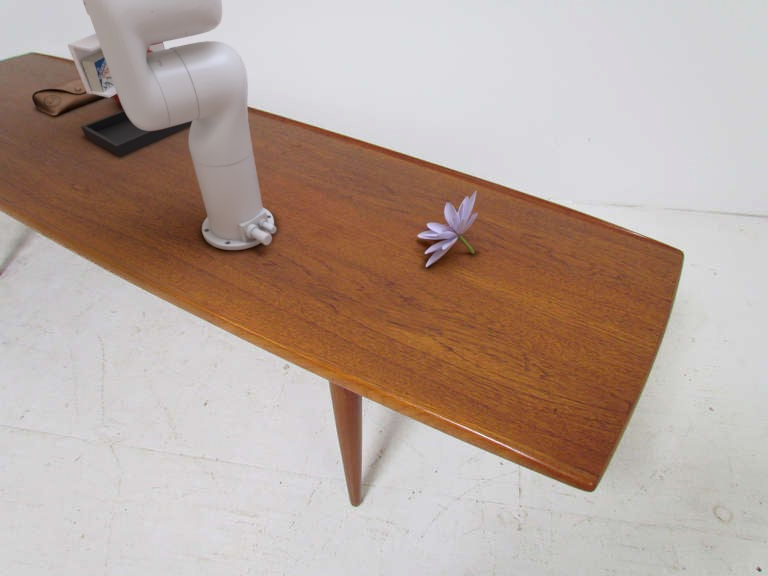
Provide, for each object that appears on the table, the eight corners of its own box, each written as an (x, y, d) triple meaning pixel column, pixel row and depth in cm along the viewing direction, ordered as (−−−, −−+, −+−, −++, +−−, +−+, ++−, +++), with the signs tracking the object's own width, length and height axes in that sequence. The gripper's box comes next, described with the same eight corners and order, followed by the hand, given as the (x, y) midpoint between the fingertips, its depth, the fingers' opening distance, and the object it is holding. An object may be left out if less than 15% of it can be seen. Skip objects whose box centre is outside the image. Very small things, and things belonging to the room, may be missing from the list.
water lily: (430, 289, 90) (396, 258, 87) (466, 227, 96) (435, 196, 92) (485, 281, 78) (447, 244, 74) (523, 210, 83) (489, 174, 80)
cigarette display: (108, 98, 100) (89, 49, 93) (86, 93, 102) (67, 44, 95) (173, 63, 113) (161, 18, 107) (154, 59, 115) (141, 14, 108)
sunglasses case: (55, 115, 117) (35, 88, 114) (47, 123, 122) (28, 96, 119) (121, 90, 128) (105, 64, 125) (111, 97, 133) (95, 73, 130)
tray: (209, 117, 120) (206, 107, 118) (120, 157, 106) (116, 146, 104) (173, 101, 125) (171, 91, 124) (85, 137, 112) (80, 126, 110)
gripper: (47, -52, 93) (85, 48, 105) (99, -36, 86) (133, 70, 98) (85, -58, 97) (117, 39, 110) (138, -43, 90) (166, 59, 103)
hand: (124, 53), depth 104 cm, fingers closed on cigarette display, 6 cm apart
